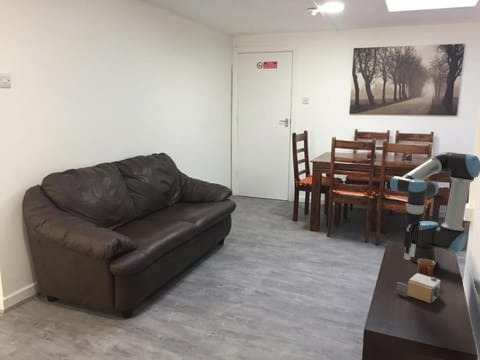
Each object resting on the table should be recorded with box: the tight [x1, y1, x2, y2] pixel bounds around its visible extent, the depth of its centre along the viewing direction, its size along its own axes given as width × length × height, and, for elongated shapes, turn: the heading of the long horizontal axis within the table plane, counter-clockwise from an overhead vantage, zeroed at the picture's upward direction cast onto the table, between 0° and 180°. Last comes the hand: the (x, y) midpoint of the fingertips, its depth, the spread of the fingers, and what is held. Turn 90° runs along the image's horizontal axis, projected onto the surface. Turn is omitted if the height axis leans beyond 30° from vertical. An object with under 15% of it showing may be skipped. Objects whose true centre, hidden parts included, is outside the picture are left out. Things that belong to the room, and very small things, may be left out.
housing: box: [408, 272, 442, 302], centre depth 190 cm, size 10×12×9 cm
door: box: [396, 281, 434, 304], centre depth 188 cm, size 1×16×8 cm, turn 47°
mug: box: [416, 259, 436, 277], centre depth 205 cm, size 12×9×10 cm
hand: (409, 257), depth 194 cm, fingers open, 5 cm apart
